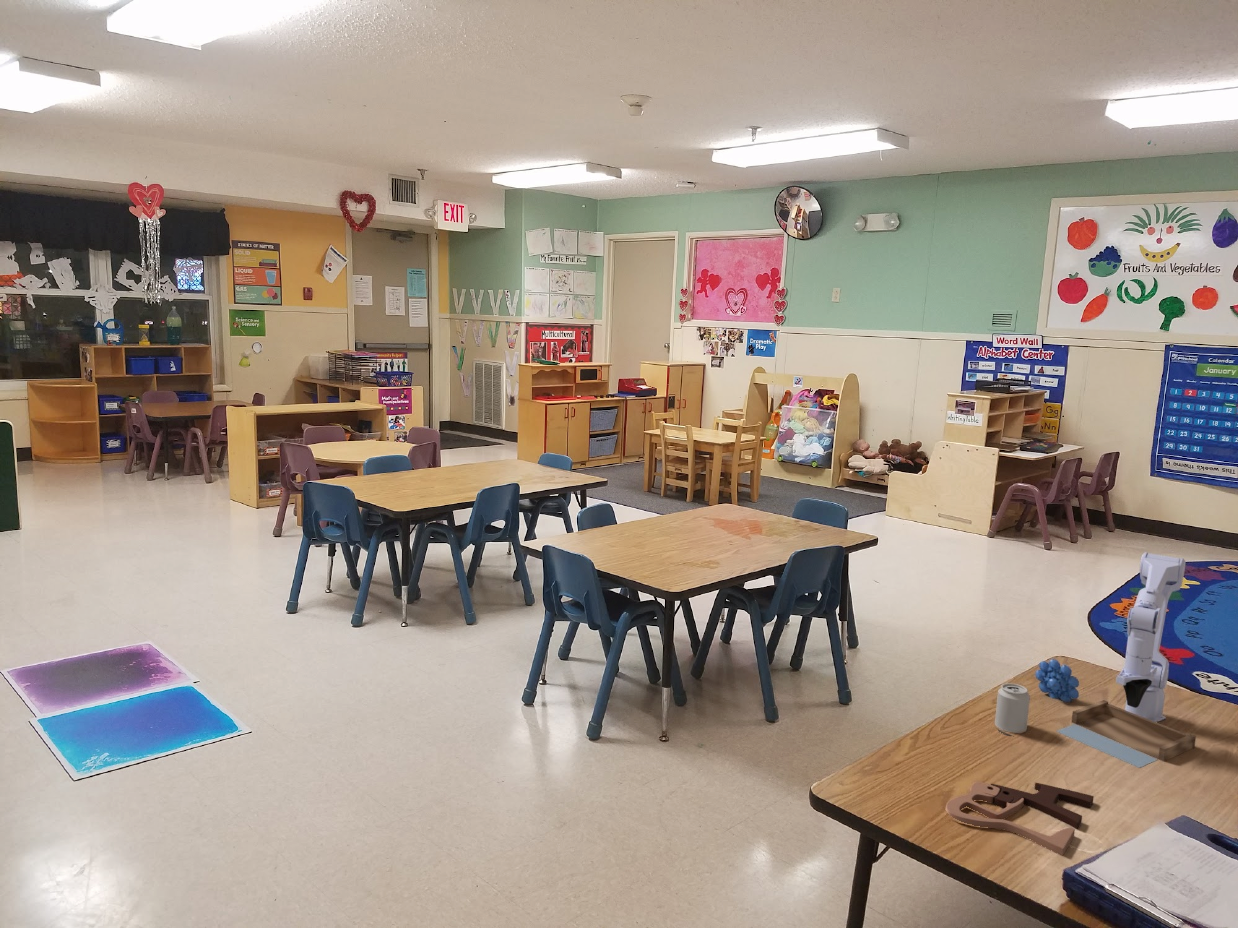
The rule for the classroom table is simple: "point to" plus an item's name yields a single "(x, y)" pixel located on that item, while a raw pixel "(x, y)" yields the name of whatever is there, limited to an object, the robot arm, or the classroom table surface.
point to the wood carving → (1014, 802)
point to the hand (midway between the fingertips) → (1132, 705)
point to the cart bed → (1133, 730)
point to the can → (1012, 708)
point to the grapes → (1057, 680)
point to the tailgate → (1107, 745)
